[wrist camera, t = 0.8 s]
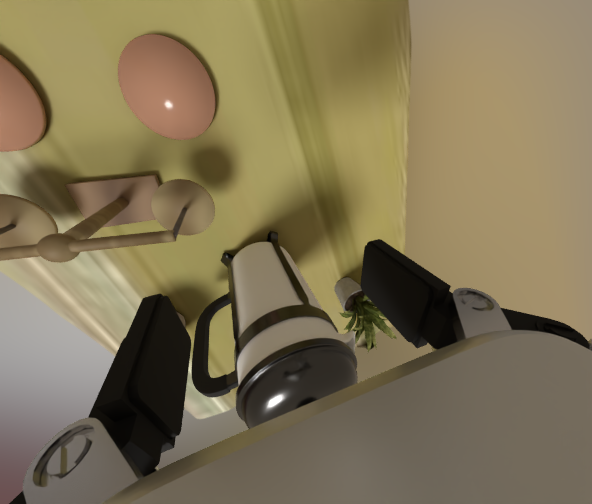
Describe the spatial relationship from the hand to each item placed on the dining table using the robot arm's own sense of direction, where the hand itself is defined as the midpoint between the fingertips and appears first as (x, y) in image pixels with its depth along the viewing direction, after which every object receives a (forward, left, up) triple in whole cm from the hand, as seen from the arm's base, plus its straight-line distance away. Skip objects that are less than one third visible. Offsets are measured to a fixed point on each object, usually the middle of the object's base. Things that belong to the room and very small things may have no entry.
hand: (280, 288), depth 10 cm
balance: (+1, -16, -28) cm, 32 cm away
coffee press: (+17, 0, -28) cm, 33 cm away
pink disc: (-11, -6, -28) cm, 31 cm away
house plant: (+27, +20, -28) cm, 44 cm away
